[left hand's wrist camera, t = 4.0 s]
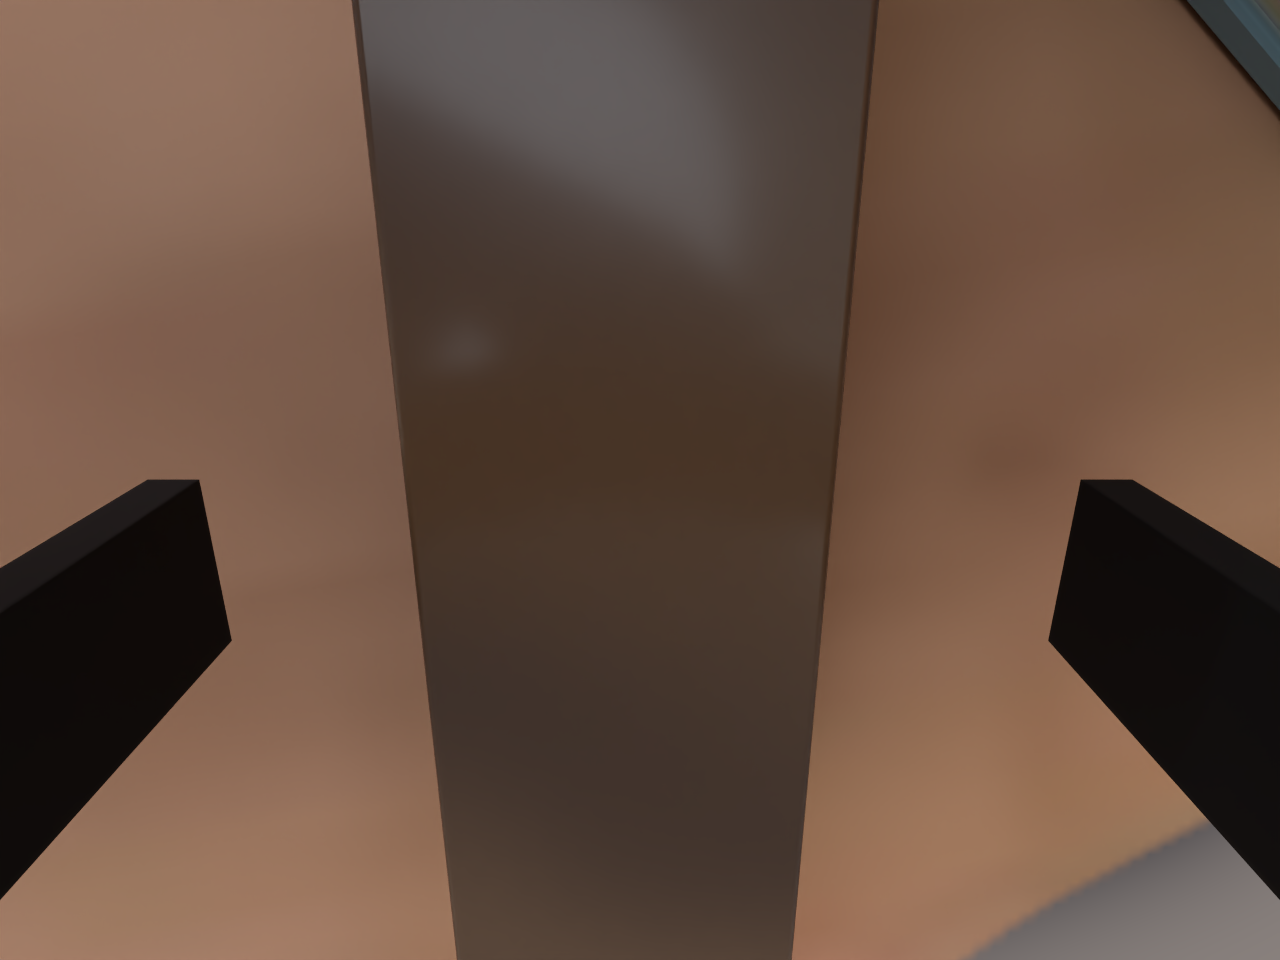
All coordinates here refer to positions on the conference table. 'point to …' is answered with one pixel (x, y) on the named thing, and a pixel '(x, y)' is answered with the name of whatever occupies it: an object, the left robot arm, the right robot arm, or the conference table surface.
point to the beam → (619, 444)
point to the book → (1248, 36)
